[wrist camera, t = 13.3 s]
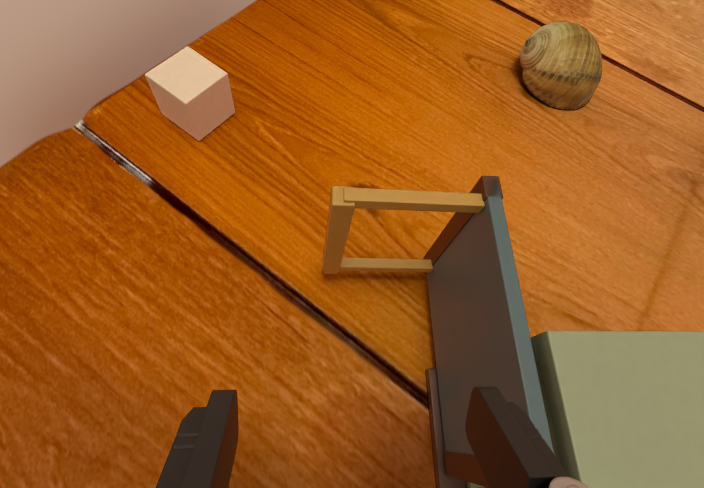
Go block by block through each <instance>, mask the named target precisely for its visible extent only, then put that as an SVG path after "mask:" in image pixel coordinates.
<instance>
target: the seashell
mask: <svg viewBox="0 0 704 488" xmlns="http://www.w3.org/2000/svg"><path fill="white" fill-rule="evenodd" d="M520 63H521V66H522V67H523V69H524V70H523V72H522V78H523V81H524V84H525V85H526V86H527V88H528V89H529V91H530V93H532V94H534V95H535V97H536V98H538V99H540V100H541V101H542V102H544V103H546V104H547V105H548V106H551V107H554V108H558V109H563V110H566V109H567V110H571V109H573V110H576V109H579V108H581V107H583V106H585V105H586V104H587V103H588V102H589V100H590V99H591V97H592V95H593V93H594V91H595V89H596V88H597V86H598V84H599V82H600V79H601V75H602V56H601V52H600V48H599V45H598V43H597V41H596V39H595V38H594V36H593V35H592V34H591V33H590V32H589V31H588V30H587V29H585V28H584V27H583V26H580V25H579V24H576V23H572V22H566V21H558V22H551V23H548V24H546V25H544V26H542V27H540V28H539V29H538V30H536V31H535V32H534V33H533V34H532V35H531V36H530V37H529V38H528V39H527V41H526V42H525V44H524V45H523V48H522V50H521V53H520Z"/></svg>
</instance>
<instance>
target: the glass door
mask: <svg viewBox="0 0 704 488" xmlns="http://www.w3.org/2000/svg"><path fill="white" fill-rule="evenodd" d="M502 199H503V194H502V189H501V185H500V180H499V177H498V176H481V178H480V179H479V180H478V182H477V183H476V185H475V186H474V188H473V189H472V190H471V192H470V193H455V192H433V191H411V190H389V189H367V188H354V187H342V186H333V187H332V190H331V198H330V206H329V214H328V222H327V229H326V237H325V245H324V253H323V273H333V274H338V273H339V271H378V272H424V273H425V274H427V283H428V292H429V302H430V311H431V321H432V330H433V339H434V349H435V358H436V368H437V377H438V387H439V396H440V406H441V415H442V425H443V434H444V444H445V451H444V457H445V467H446V475H447V476H450V477H453V478H457V479H460V480H463V481H466V482H470V483H473V484H476V485H480V486H483V487H486V488H489V486H488V483H487V481H486V479H485V477H484V475H483V473H482V470H481V468H480V466H479V464H478V462H477V459H476V457H475V455H474V453H473V451H472V449H471V446H470V444H469V442H468V440H467V436H466V431H465V421H466V416H467V411H468V406H469V401H470V396H471V392H472V389H473V388H474V387H497V388H498V389H499V391H500V392H501V394H502V395H503V397H504V398H505V400H506V401H507V402H513V403H515V404H516V405H517V406H518V407H519V408H521V409H522V410H523V411H524V412H525V413H526V414H527V415H528V417H529V418H530V420H531V421H532V423H533V424H534V426H535V428H537V430H538V431H539V433H540V434H541V436H542V439H544V440H545V442H546V443H547V445H548V446H549V447H550V449H551V450H552V452H553V453H554V450H553V445H552V440H551V435H550V430H549V425H548V421H547V416H546V411H545V406H544V401H543V396H542V392H541V387H540V382H539V377H538V372H537V367H536V363H535V358H534V353H533V348H532V343H531V338H530V334H529V329H528V324H527V319H526V314H525V309H524V304H523V300H522V295H521V290H520V285H519V280H518V275H517V271H516V266H515V261H514V256H513V251H512V246H511V242H510V237H509V232H508V227H507V222H506V217H505V213H504V208H503V203H502ZM354 208H365V209H391V210H416V211H441V212H456V213H455V214H454V216H453V217H452V218H451V220H450V221H449V223H448V224H447V226H446V227H445V228H444V230H443V231H442V233H441V234H440V235H439V237H438V238H437V240H436V241H435V242H434V244H433V245H432V247H431V248H430V249H429V251H428V252H427V254H426V255H425V256H424V259H386V258H347V257H343V253H344V249H345V244H346V240H347V236H348V232H349V228H350V224H351V220H352V215H353V211H354ZM554 455H555V454H554Z"/></svg>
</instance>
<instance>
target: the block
mask: <svg viewBox="0 0 704 488" xmlns="http://www.w3.org/2000/svg"><path fill="white" fill-rule="evenodd" d="M145 76H146V78H147V81H148V83H149V85H150V88H151V90H152V92H153V94H154V97H155V99H156V101H157V104H158V106H159V108H160V110H161V113H162V115H164V116H165V117H166V118H168V119H169V120H171V121H172V122H173V123H175V124H176V125H177V126H179V127H180V128H181V129H183V130H184V131H185V132H187V133H188V134H190V135H191V136H192V137H194V138H195V139H196V140H198V141H200V140H201V139H203V138H204V137H205V136H206V135H208V134H209V133H210V132H211V131H213V130H214V129H215V128H216V127H218V126H219V125H220V124H221V123H223V122H224V121H225V120H227V119H228V118H229V117H230V116H232V115H233V114H234V113H235V108H234V103H233V99H232V94H231V89H230V84H229V79H228V74H227V73H226V72H225V71H223V70H222V69H220V68H219V67H217V66H216V65H214V64H213V63H211V62H210V61H209V60H207V59H206V58H204V57H203V56H201V55H200V54H198V53H197V52H195V51H194V50H193V49H191V48H190V47H188V46H187V47H185V48H184V49H182V50H181V51H179V52H178V53H176V54H175V55H173V56H172V57H170V58H169V59H167V60H166V61H164V62H163V63H161V64H160V65H158V66H157V67H155V68H154V69H152V70H151V71H149V72H147V73H146V74H145Z"/></svg>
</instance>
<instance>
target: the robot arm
mask: <svg viewBox="0 0 704 488" xmlns="http://www.w3.org/2000/svg"><path fill="white" fill-rule="evenodd" d="M465 431H466V436H467V440H468V442H469V444H470V446H471V449H472V451H473V453H474V455H475V457H476V459H477V462H478V464H479V466H480V468H481V470H482V473H483V475H484V477H485V479H486V481H487V483H488V486H489V488H590V487H588V486H587V485H585V484H584V483H582V482H580V481H578V480H576V479H573V478H570V477H569V475H568V474H567V472H566V471H565V469H564V468H563V466H562V465H561V464H560V462H559V461H558V459H557V458H556V456H555V455H554V453H553V452H552V450H551V449H550V447H549V446H548V445H547V443H546V442H545V440H544V439H542V436H541V434H540V433H539V431H538V430H537V428H535V426H534V424H533V423H532V421H531V420H530V418H529V417H528V415H527V414H526V413H525V412H524V411H523V410H522V409H521V408H519V407H518V406H517V405H516V404H515V403H513V402H507V401H506V400H505V398H504V397H503V395H502V394H501V392H500V391H499V389H498V388H497V387H474V388H473V389H472V392H471V396H470V401H469V406H468V411H467V416H466V421H465ZM237 441H238V403H237V391H236V390H213V391H212V393H211V396H210V399H209V402H208V405H207V407H194V408H193V409H192V410H191V411H190V412H189V413H188V414H187V415H186V417H185V418H184V419H183V420H182V422H181V424H180V427H179V430H178V432H177V436H176V437H175V440H174V442H173V445H172V449H171V450H170V453H169V455H168V458H167V460H166V463H165V465H164V468H163V470H162V473H161V476H160V478H159V481H158V483H157V486H156V488H228V487H229V482H230V477H231V472H232V467H233V463H234V458H235V453H236V448H237Z"/></svg>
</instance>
